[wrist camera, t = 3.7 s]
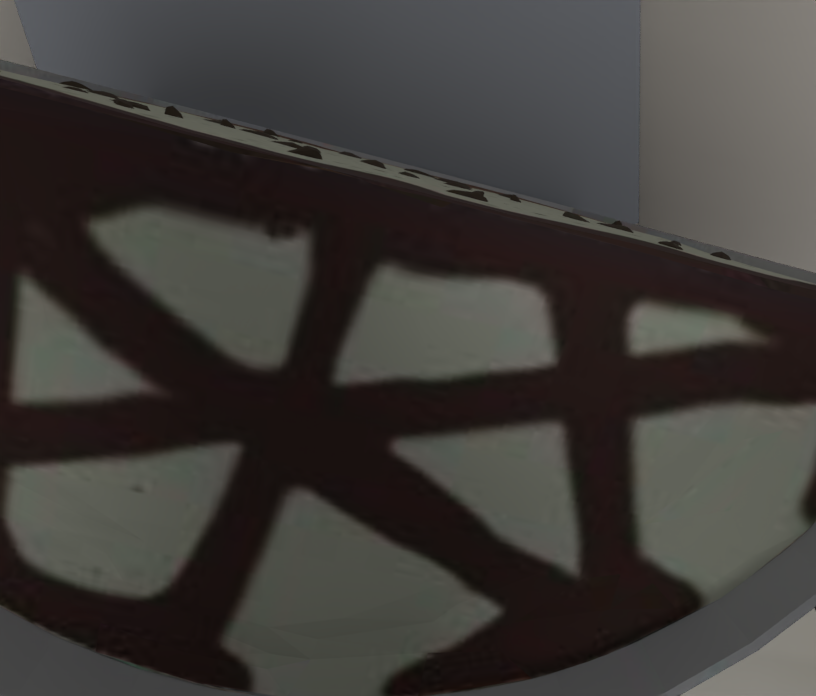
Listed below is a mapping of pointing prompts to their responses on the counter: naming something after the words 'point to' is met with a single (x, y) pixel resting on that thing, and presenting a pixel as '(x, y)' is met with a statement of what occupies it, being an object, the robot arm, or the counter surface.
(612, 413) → the food container
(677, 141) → the counter surface
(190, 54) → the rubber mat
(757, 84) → the counter surface
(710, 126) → the counter surface
